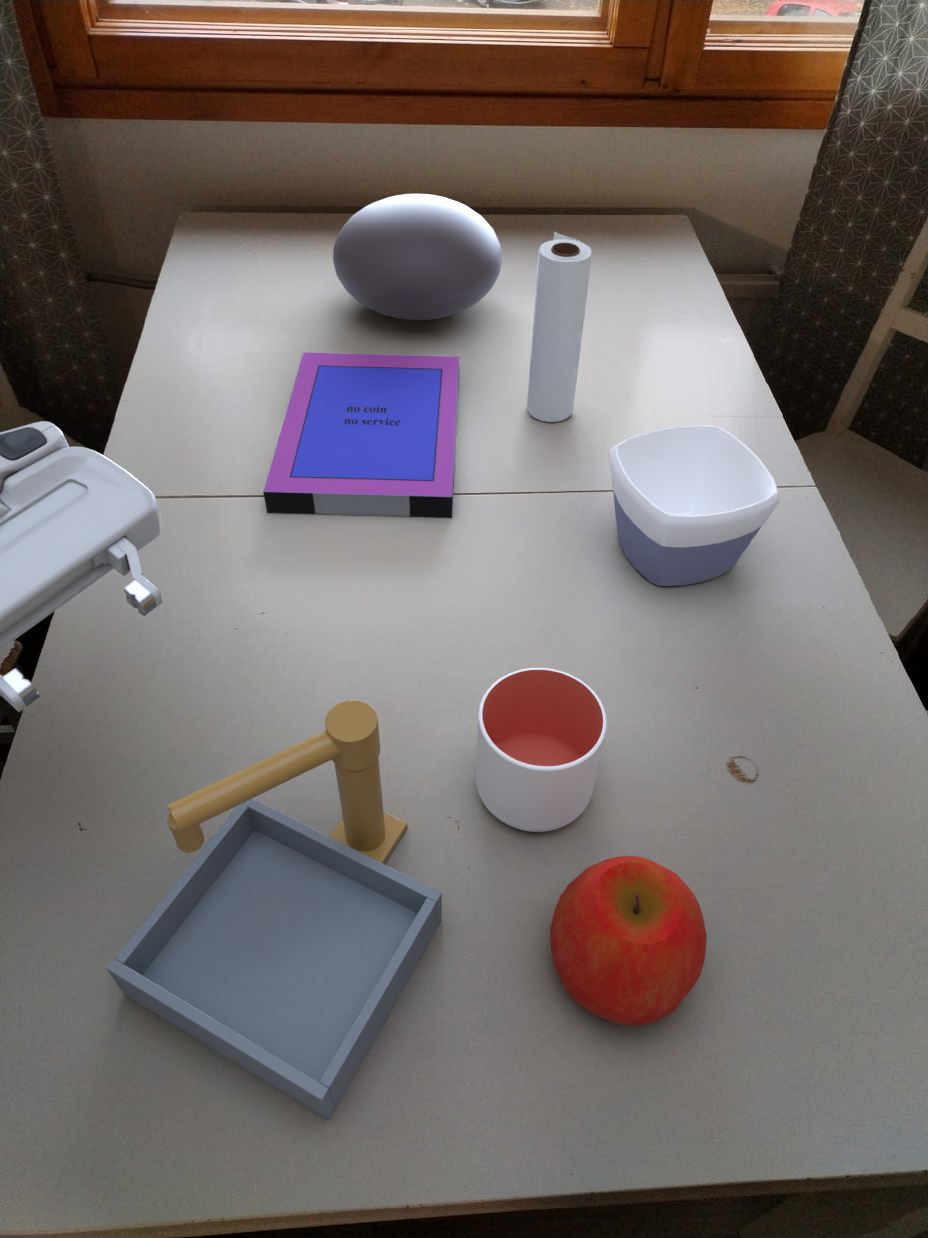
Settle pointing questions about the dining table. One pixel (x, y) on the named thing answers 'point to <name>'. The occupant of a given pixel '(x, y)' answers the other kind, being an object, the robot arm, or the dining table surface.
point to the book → (368, 437)
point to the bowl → (688, 501)
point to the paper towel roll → (557, 327)
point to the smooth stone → (417, 256)
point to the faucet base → (366, 815)
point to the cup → (538, 748)
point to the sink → (281, 952)
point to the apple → (628, 940)
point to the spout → (281, 770)
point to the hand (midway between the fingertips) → (93, 650)
